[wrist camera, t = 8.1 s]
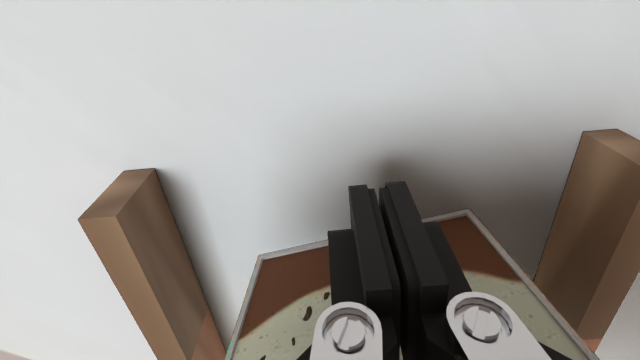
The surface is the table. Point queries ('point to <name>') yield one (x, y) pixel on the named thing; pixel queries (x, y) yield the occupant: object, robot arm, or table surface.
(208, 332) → the lane walls
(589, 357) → the food container
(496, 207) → the table surface
